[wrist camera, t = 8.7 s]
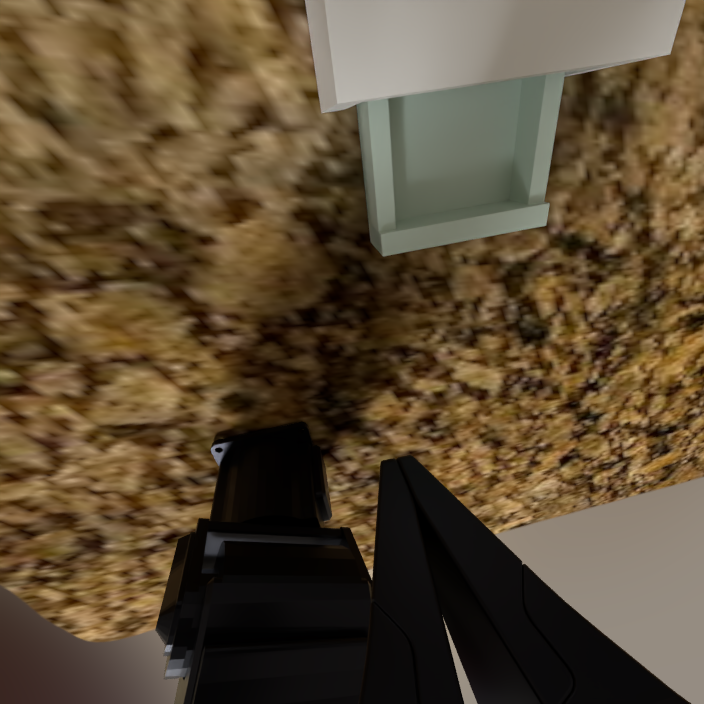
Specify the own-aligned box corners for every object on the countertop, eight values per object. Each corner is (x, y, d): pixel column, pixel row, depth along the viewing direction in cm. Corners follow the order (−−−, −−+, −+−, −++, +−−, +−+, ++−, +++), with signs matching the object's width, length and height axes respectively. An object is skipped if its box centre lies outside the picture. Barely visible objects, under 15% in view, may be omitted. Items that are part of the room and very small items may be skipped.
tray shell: (370, 242, 18) (383, 256, 16) (332, -122, 11) (345, -184, 9) (514, 215, 18) (545, 225, 16) (557, -145, 12) (619, -207, 10)
